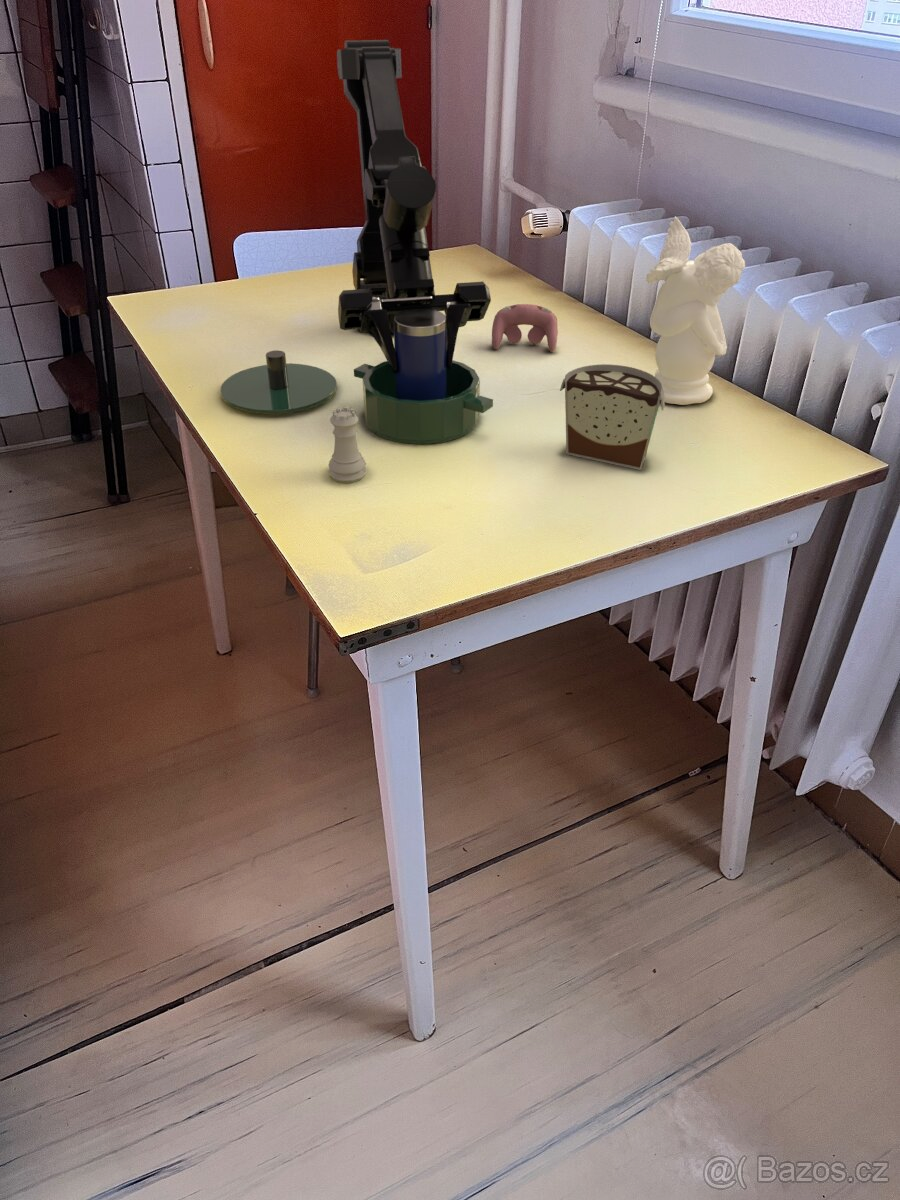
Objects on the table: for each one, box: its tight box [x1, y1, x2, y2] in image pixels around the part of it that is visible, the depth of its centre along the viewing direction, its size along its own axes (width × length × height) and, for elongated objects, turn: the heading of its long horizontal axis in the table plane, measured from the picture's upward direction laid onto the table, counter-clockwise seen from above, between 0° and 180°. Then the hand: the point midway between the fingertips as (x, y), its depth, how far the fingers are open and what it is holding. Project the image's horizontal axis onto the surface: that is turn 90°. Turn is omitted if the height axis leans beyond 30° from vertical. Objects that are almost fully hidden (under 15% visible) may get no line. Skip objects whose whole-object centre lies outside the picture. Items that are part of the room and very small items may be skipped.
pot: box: [353, 360, 494, 445], centre depth 120 cm, size 15×20×6 cm
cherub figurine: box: [645, 215, 746, 406], centre depth 121 cm, size 12×12×22 cm
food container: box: [559, 363, 666, 471], centre depth 111 cm, size 12×6×10 cm, turn 65°
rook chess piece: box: [328, 406, 368, 484], centre depth 107 cm, size 4×4×8 cm
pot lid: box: [220, 349, 338, 415], centre depth 126 cm, size 16×16×6 cm
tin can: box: [393, 309, 447, 401], centre depth 117 cm, size 6×6×13 cm
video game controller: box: [491, 303, 559, 353], centre depth 141 cm, size 10×5×7 cm, turn 84°
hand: (422, 370), depth 116 cm, fingers closed on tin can, 6 cm apart
